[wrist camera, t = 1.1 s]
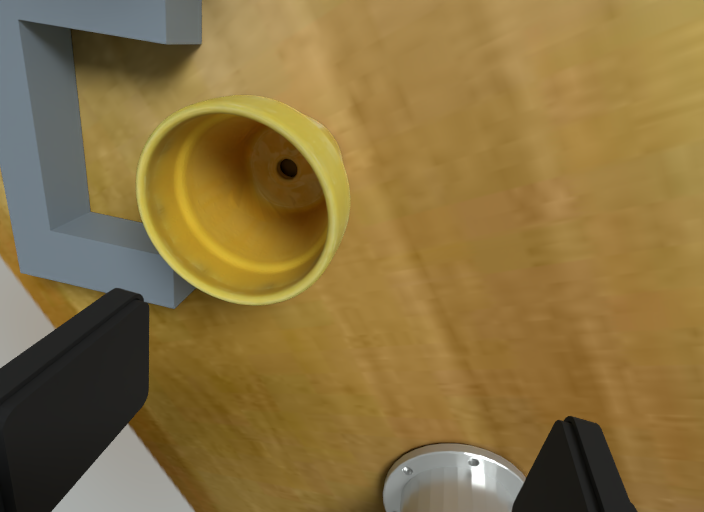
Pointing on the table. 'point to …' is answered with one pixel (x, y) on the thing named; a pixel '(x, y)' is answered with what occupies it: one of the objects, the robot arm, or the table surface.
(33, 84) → the bar
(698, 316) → the table surface
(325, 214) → the plant pot
